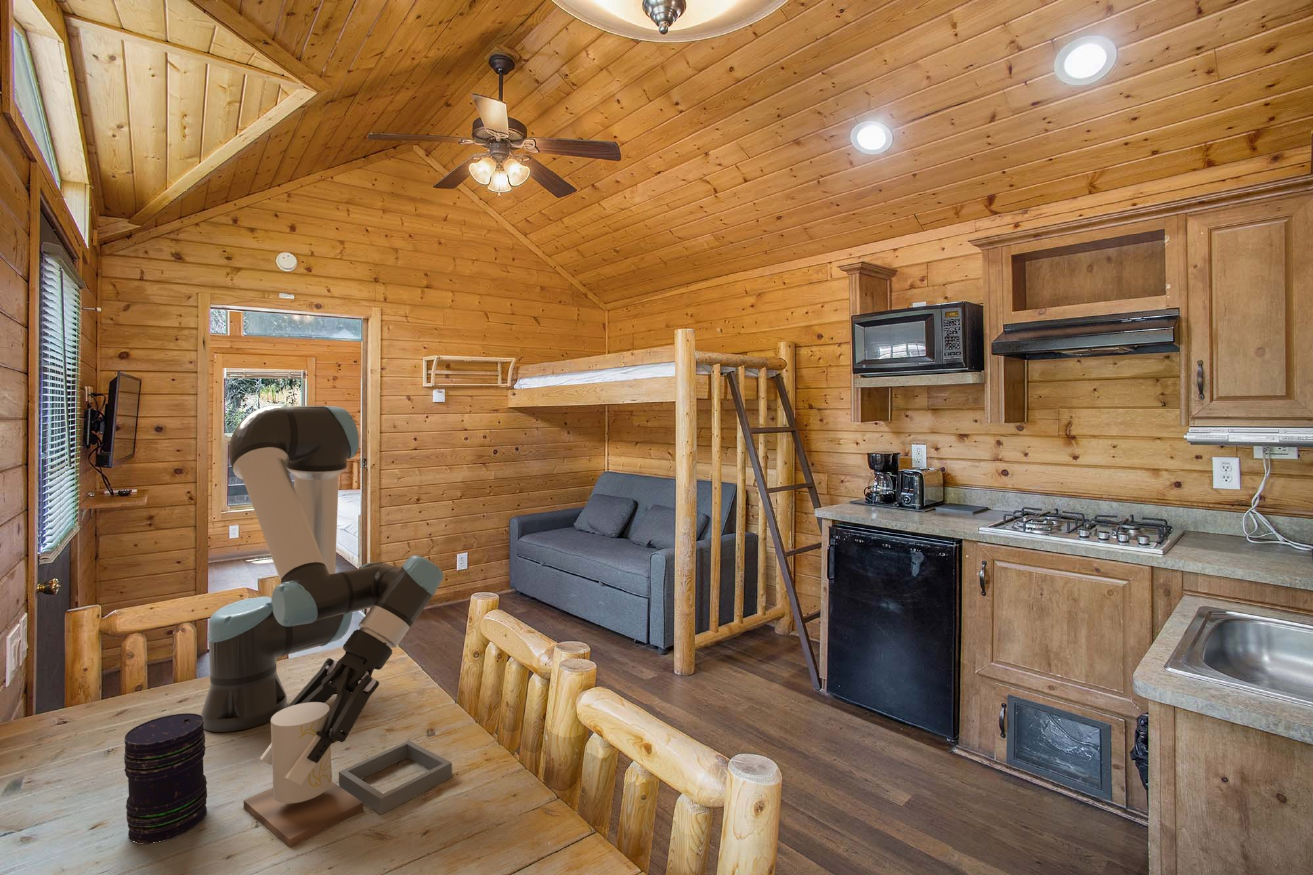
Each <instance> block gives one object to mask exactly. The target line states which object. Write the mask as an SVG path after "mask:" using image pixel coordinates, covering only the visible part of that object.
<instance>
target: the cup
mask: <svg viewBox="0 0 1313 875" xmlns="http://www.w3.org/2000/svg"><path fill="white" fill-rule="evenodd" d="M330 711H331V708H330V706H329V705H328V704H327V703H326V702H325V703H321V702H308V703H301V704H297V705H293V706H290V707H288V706H287V708H285V709H282V710H280V711H279V712H277V713H276V714H274V715H273V716H272V718H271V721H270V731H271V732H270V735H271V736H270V738H271V740H270V741H271V743H272V765H271V767H272V768H271V769H272V788H273V797H274V799H275V800H276V801H277V802H280V803H298V802H303V801H306V800H309V799H312V798H314V797H316V796H318V795H320V794H322V793H323V792H325V791H326V790H327V789H328V788H329V787H330V785H331V783H332V782H333V780H332V779H333V778H332V777H333V774H332V773H333V772H332V770H333V768H332V748H331V747H332V744H331V745H330V746H329V748H328V749H327V751H326V752H325V753H324V755H323V756H322V758H321V759H320V761H319V762H317V763H316V765H315V766H314V767H313V769H312V770H311V772H310V773H309V775H308V776H307V778H306V779H305V780H304V782H303V783H302V785H299V784H297V783H295V782H293V781H291V780H289V779H287V778H286V777H285V776H286V775H287V774H288V772H289V771H290V769H291V768H292V767H293V765H294V764H295V762H296V761H297V760H298V758H299V757H300V755H301V754H302V753H303V751H304V750H305V748H306V747H307V746H308V744H309V743H310V741H311V740H312V739H313V737H314V736H315V735H317V731H322V729H323V727H324V724H325V722H326V720H327V717H328V715H329V713H330ZM317 736H318V735H317ZM319 737H320V736H319Z"/></svg>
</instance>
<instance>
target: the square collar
mask: <svg viewBox="0 0 1313 875" xmlns="http://www.w3.org/2000/svg"><path fill="white" fill-rule="evenodd" d="M406 759H409V760H411V761H412V762H415V763H416V764H418V765H420V766H421V767H424V768H425V769H427V770H428V771H425V772H424V773H422V774H420V775H418V776H416V777H413V778H412V779H410V780H408V781H406V782H403V783H402V784H399V785H398V786H396V787H394V788H392V789H390V790H389V791H386V792H384V793H383V792H381V791H380V790H378V789H377V788H375V787H373V786H372V785H370V784H369V783H367V782H365V781H364V780H362V779H365V778H368V777H369V776H371V775H373V774H376V773H378V772H379V771H382V770H383V769H386V768H388V767H391V766H393V765H394V764H397V763H398V762H400V761H403V760H406ZM452 777H453V763H452V761H449V760H447V759H445V758H443V757H442V756H440V755H438V754H436V753H434V752H432V751H430V750H428V749H426V748H425V747H422V746H421V745H419V744H417V743H415V742H413V741H412V740H409V739H408V740H406V741H404V742H402V743H401V742H400V743H399V744H396V745H395V746H393V747H391V748H388V749H386V750H384V751H382V752H379V753H376V754H375V755H373V756H370V757H369V758H366V759H363V760H362V761H359V762H357V763H355V764H352V765H351V766H349V767H346V768H344V769H342V770H340V771H338V786H339V787H341V788H342V789H344V790H345V791H347V792H348V793H350V794H351V795H353V796H354V797H356V798H357V799H359V800H360V801H362V802H363V805H366V806H367V807H369V808H370V809H371V810H373V811H374V812H377V813H378V814H379V815H383V814H385V813H387V812H389V811H391V810H393V809H394V808H396V807H399V806H400V805H402V804H404V803H406V802H408V801H410V800H411V799H413V798H415V797H417V796H419V795H422V794H423V793H425V792H426V791H428V790H430V789H432V788H434V787H436V786H438V785H440V784H442V783H444V782H445V781H447V780H449V779H451V778H452Z"/></svg>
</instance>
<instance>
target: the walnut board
mask: <svg viewBox="0 0 1313 875" xmlns="http://www.w3.org/2000/svg"><path fill="white" fill-rule="evenodd" d="M243 809H245V810H246V811H247V812H248V813H249V814H250V815H251V816H253V818H255V819H256V820H257V821H259V822H260V823H261V824H262V825H263V826H265V828H267V829H268V830H269V831H271V832H270V833H272V834H274V835H275V836H276V837H277V838H278V839H279V840H281V841H282V842H283V843H284V844H285V845H287V847H289V848H292V847H293V846H295V845H298V844H300V843H302V842H304V841H305V840H308V839H309V838H311V837H313V836H315V835H317V834H319V833H321V832H322V831H325V830H327V829H328V828H331V827H332V826H335V825H337V824H338V823H341V822H343V821H344V820H346V819H348V818H350V817H352V816H354V815H356V814H358V813H360V812H362V811H363V810H364V803H363V802H362V801H360V800H359V799H357V798H356V797H354V796H353V795H351V794H350V793H348V792H347V791H345V790H344V789H342V788H341V787H339V784H336V783H335V782H334V781H332V783H331V785H330V787H329V788H328V789H327V790H326V791H325V792H323V793H322V794H320V795H318V796H316V797H314V798H312V799H309V800H306V801H303V802H298V803H280V802H277V801H276V800H275V799H274V797H273V787H270V788H269V789H265V790H264V791H261V792H259V793H257V794H255V795H252V796H250V797H248V798H245V799H243Z"/></svg>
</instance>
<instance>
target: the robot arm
mask: <svg viewBox="0 0 1313 875" xmlns="http://www.w3.org/2000/svg"><path fill="white" fill-rule="evenodd" d="M359 435H360V434H359V430H358V427H357V424H356V422H355V420H354V417H353V416H352V415H351V414H350V412H349V411H348V410H347V409H345V408H343V407H340V406H332V405H331V406H330V405H283V406H282V405H269V406H264V407H261V408H258V409H255V410H254V411H252V412H250V413H248V414H247V415H246V416H244V417H243V419H242V420H241V421H240V422H239V423H238V424H237V425H236V427H235V429H234V430H233V433H232V435H231V437H230V441H229V446H228V457H229V458H228V460H229V463H230V466H231V468H232V471H233V474H234V476H235V477H237V478H238V479H239V480H242V481H243V483H244V486H245V489H246V492H247V494H248V497H249V499H250V502H251V506H252V508H253V511H254V514H255V517H256V519H257V521H258V524H259V526H260V529H261V530H260V531H261V532H262V535H263V537H264V540H265V543H266V545H267V546H266V547H267V549H268V552H269V554H270V557H271V559H272V562H273V564H274V568H275V571H276V573H277V576H278V579H279V581H280V584H277V585H276V586H275V587H274V588H273V591H272V595H271V597H270V596H257V597H256V596H255V597H250V598H243V599H241V600H237V601H234V602H231V603H229V604H227V605H224V606H222V607H220V608H219V609H217V610H216V611H215V612H214V613H213V614H212V615H211V616H210V618H209V621H208V633H207V640H208V650H209V653H208V654H209V655H208V656H209V679H210V686H209V688H208V691H207V694H206V698H205V700H204V704H203V707H202V710H201V712H200V715H201V716H202V717H203V719H204V725H203V727H204V731H205V730H206V731H208V732H214V733H229V732H236V731H237V732H239V731H242V730H247V729H251V728H255V727H257V726H261V725H263V724H266V723H268V722H271V718H272V716H273V715H274V714H276V713H277V712H279V711H280V710H282V709H285V708H287V707H290V706H293V705H297V704H301V703H308V702H321V703H325V704H326V702H327V701H329V700H330V698H332V697H334V695H336V697H335V699H334V702H333V704H332V706H331V708H330V713H329V715H328V717H327V720H326V722H325V724H324V727H323V729H322V731H317V735H318V736H317V735H315V736H314V737H313V739H312V740H311V741H310V743H309V744H308V746H307V747H306V748H305V750H304V751H303V753H302V754H301V755H300V757H299V758H298V760H297V761H296V762H295V764H294V765H293V767H292V768H291V769H290V771H289V772H288V774H287V775H286V776H285V777H286V778H287V779H289V780H291V781H293V782H295V783H297V784H299V785H302V783H303V782H304V780H305V779H306V778H307V776H308V775H309V773H310V772H311V770H312V769H313V767H314V766H315V765H316V763H317V762H319V761H320V759H321V758H322V756H323V755H324V753H325V752H326V751H327V749H328V748H329V746H330V745H331V746H332V744H335V743H337V742H339V743H344V742H345V741H346V740H347V738H348V736H349V734H350V732H351V730H352V729H353V728H354V725H355V724H356V722H357V721H358V718H359V716H360V715H361V714H362V711H363V709H364V708H365V706H366V704H367V703H368V700H369V699H370V696H372V695H373V693H374V692H375V690H377V688H378V687H379V685H380V681H378V680H376V678H374V677H372V675H373V672H374V671H375V670H377V671H378V670H381V669H383V667H384V666H385V664H386V663H387V661H388V660H389V659H390V657H391V656H392V655H393V650H392V648H396V647H397V648H398V645H399V644H400V642H401V641H402V640H403V638H404V637H405V635H406V634H407V632H408V631H409V630H410V628H411V627H412V626H413V625H414V623H415V622H416V620H417V618H419V616H420V615H421V613H422V612H423V611H424V609H425V608H426V606H427V605H428V603H429V602H430V601H431V600H432V598H433V597H434V595H436V591H437V589H438V588H439V586H440V585H441V583H442V582H443V580H444V573H443V571H442V569H441V568H440V567H439V566H437V564H435V563H434V562H432V561H431V560H430V559H427V558H425V557H424V556H421V555H417V554H414V555H411V556H409V557H408V559H406V561H405V562H403V563H402V565H401V566H395V565H391V564H388V563H384V562H381V561H380V562H379V561H378V562H367V563H364V564H362V565H361V566H359V568H356V569H352V570H351V569H350V570H346V571H340V572H336V564H337V563H336V561H337V560H336V559H337V558H336V557H337V538H338V537H337V533H338V532H337V530H338V510H339V509H338V506H339V504H338V503H339V481H340V480H339V479H340V478H339V477H340V475H341V474H342V473H344V472H345V471H346V470H347V468H348V467H347V466H348V465H347V464H348V460H351V459H353V458H354V457H355V456H356V455H357V453H358V451H359V449H360V436H359ZM290 473H291V474H292V475H293V477H294V479H293V480H292V477H291V475H290ZM293 481H294V483H293ZM367 609H369V611H367V613H366V614H365V616H364V617H363V618H362V620H361V621H359V623H358V626H359V629H358V628H357V629H356V630H353V631H352V633H351V635H350V636H349V637H348V639H347V640H346V641H345V643H344V644H343V646H342V649H343V651H344V652H345V653H344V655H343V656H342V657H341V658H339V659H338V660H334V659H332V658H330V657H328V658H326V660H325V661H324V663H323V664H322V666H321V667H320V669H319V671H317V673H316V674H315V675H314V676H313V677H312V678H311V679H310V680H309V681H308V683H307V684H306V685H305V686H304V687H303V688H302V689H301V691H300V692H299V693H298V694H297V695H296V696H295V697H294V699H293V700H292V701H291V702H290V703H289V704H288V696H287V693H286V691H285V688H284V686H283V684H282V682H281V679H280V677H279V675H278V671H277V669H278V668H277V659H278V658H281V657H284V656H287V655H291V654H295V653H299V652H303V651H307V650H310V649H311V650H312V649H314V648H318V647H324V646H327V645H329V644H330V643H334V642H337V641H339V640H341V639H343V637H344V636H345V635H346V634H347V633H348V631H349V629H350V628H351V624H352V620H353V613H354V612H358V611H361V610H363V611H364V610H367ZM319 736H320V737H319ZM259 759H260V761H263V762H264V763H266V764H268V765H271V766H272V742H271V743H269V745H268V747H266V749H265V751H264V752H263V753H262V754H261V756H260V757H259Z"/></svg>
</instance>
